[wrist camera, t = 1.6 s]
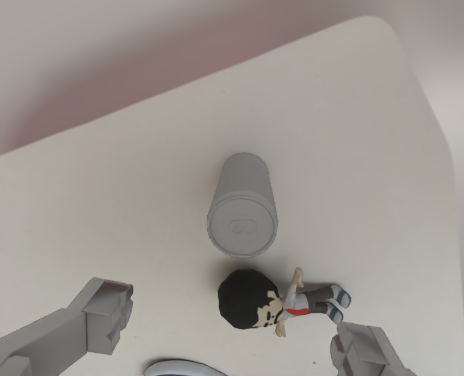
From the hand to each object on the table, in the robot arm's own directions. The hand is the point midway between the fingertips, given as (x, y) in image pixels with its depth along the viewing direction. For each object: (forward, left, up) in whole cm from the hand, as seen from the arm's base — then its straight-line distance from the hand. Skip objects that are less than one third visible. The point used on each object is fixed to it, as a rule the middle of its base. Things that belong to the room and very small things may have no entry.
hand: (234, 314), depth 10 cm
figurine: (-7, +14, -20) cm, 25 cm away
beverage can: (0, 0, -20) cm, 20 cm away
